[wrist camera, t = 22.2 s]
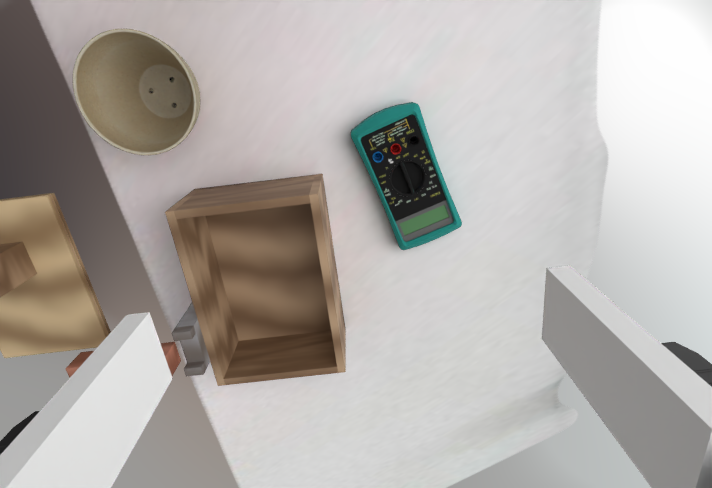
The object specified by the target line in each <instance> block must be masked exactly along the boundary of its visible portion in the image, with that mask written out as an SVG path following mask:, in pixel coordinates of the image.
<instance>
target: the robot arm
mask: <svg viewBox="0 0 712 488" xmlns="http://www.w3.org/2000/svg"><path fill="white" fill-rule="evenodd" d="M542 340H543V341H544V342H545V344H546V345H547V346H548V348H549V349H550V350H551V352H552V353H553V355H554V356H555V357H556V359H557V360H558V361H559V363H560V364H561V365H562V367H563V368H564V369H565V371H566V372H567V374H568V375H569V376H570V378H571V379H572V380H573V382H574V383H575V384H576V386H577V387H578V388H579V390H580V391H581V392H582V394H583V395H584V397H585V398H586V399H587V401H588V402H589V403H590V405H591V406H592V407H593V409H594V410H595V411H596V413H597V414H598V416H599V417H600V418H601V420H602V421H603V422H604V424H605V425H606V426H607V428H608V429H609V430H610V432H611V433H612V435H613V436H614V437H615V439H616V440H617V441H618V443H619V444H620V445H621V447H622V448H623V449H624V451H625V452H626V454H627V455H628V456H629V458H630V459H631V460H632V462H633V463H634V464H635V466H636V467H637V468H638V470H639V471H640V473H641V474H642V475H643V477H644V478H645V479H646V481H647V482H648V483H649V485H650V486H651V487H652V488H712V364H711V363H709V362H708V361H707V360H706V359H704V358H703V357H702V356H701V355H699V354H698V353H696V352H694V351H692V350H690V349H688V348H686V347H684V346H682V345H680V344H678V343H676V342H668V343H660V342H659V341H658V340H656V339H655V338H654V337H653V336H652V335H651V334H649V333H648V332H647V331H646V330H645V329H644V328H643V327H641V326H640V325H639V324H638V323H637V322H635V321H634V320H633V319H632V318H631V317H630V316H628V315H627V314H626V313H625V312H624V311H623V310H621V309H620V308H619V307H618V306H617V305H616V304H615V303H613V302H612V301H611V300H610V299H609V298H608V297H606V296H605V295H604V294H603V293H602V292H601V291H599V290H598V289H597V288H596V287H595V286H594V285H592V284H591V283H590V282H589V281H588V280H587V279H585V278H584V277H583V276H582V275H581V274H580V273H578V272H577V271H576V270H575V269H574V268H573V267H572V266H570V265H569V266H560V267H551V268H546V283H545V298H544V312H543V327H542ZM172 379H173V378H172V375H171V372H170V369H169V367H168V364H167V361H166V358H165V355H164V352H163V349H162V347H161V344H160V341H159V338H158V336H157V332H156V330H155V327H154V324H153V321H152V318H151V316H150V313H149V312H148V313H138V314H129V315H126V316H125V317H124V318H123V319H122V321H121V322H120V323H119V324H118V325H117V326H116V327H115V329H113V331H112V332H111V333H110V334H109V335H108V336H107V337H106V338H105V339H104V341H103V342H102V343H101V344H100V345H99V346H98V347H97V348H96V350H95V351H94V352H93V353H92V354H91V355H90V356H89V357H88V358H87V359H86V361H85V362H84V363H83V364H82V365H81V366H80V367H79V368H78V369H77V371H76V372H75V373H74V374H73V375H72V376H71V377H70V378H69V379H68V381H67V382H66V383H65V384H64V385H63V386H62V387H61V388H60V389H59V391H58V392H57V393H56V394H55V395H54V396H53V397H52V398H51V399H50V401H49V402H48V403H47V404H46V405H45V406H44V407H43V409H41V410H40V411H35V412H34V413H32V414H31V415H30V416H29V417H27V418H26V419H24V420H23V421H22V422H20V423H19V424H17V425H16V426H15V427H13V428H12V429H11V431H10V432H9V433H8V434H7V435H6V436H5V437H4V438H3V439H2V440H1V441H0V488H111V487H112V485H113V483H114V481H115V480H116V478H117V476H118V474H119V473H120V471H121V469H122V467H123V466H124V464H125V462H126V460H127V458H128V457H129V455H130V453H131V451H132V450H133V448H134V446H135V444H136V442H137V441H138V439H139V437H140V435H141V434H142V432H143V430H144V428H145V426H146V425H147V423H148V421H149V419H150V418H151V416H152V414H153V412H154V411H155V409H156V407H157V405H158V404H159V402H160V400H161V398H162V396H163V394H164V393H165V391H166V389H167V388H168V386H169V384H170V382H171V380H172Z"/></svg>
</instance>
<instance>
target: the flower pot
mask: <svg viewBox="0 0 712 488" xmlns="http://www.w3.org/2000/svg"><path fill="white" fill-rule="evenodd" d="M170 78H172V80H171V81H170ZM73 90H74V95H75V99H76V102H77V105H78V107H79V109H80V112H81V114H82V115H83V117H84V119H85V120H86V122H87V123H88V124H89V126H90V127H91V128H92V129H93V130H94V131H95V132H96V133H97V134H98V135H99V136H100V137H101V138H102V139H104V140H105V141H106V142H108V143H109V144H111V145H113V146H114V147H116V148H118V149H120V150H123V151H126V152H128V153H132V154H137V155H156V154H160V153H164V152H167V151H169V150H171V149H173V148H174V147H176V146H177V145H178V144H180V143H181V142H182V141H183V140H184V139H185V138H186V137H187V136H188V134H189V133H190V132H191V130H192V129H193V127H194V125H195V123H196V120H197V118H198V114H199V110H200V92H199V87H198V84H197V81H196V78H195V76H194V74H193V72H192V71H191V69H190V67H189V66H188V65H187V63H186V62H185V61H184V59H183V58H182V57H181V56H180V55H179V54H178V53H177V52H176V51H175V50H173V49H172V48H171V47H170V46H168V45H167V44H165V43H164V42H162V41H161V40H159V39H157V38H155V37H153V36H151V35H149V34H147V33H144V32H141V31H137V30H132V29H114V30H109V31H106V32H103V33H101V34H99V35H97V36H95V37H94V38H92V39H91V40H90V41H89V42H88V43H87V44H86V45H85V46H84V47H83V48H82V50H81V51H80V53H79V55H78V57H77V59H76V62H75V65H74V69H73ZM151 91H152V92H153V93H150V92H151ZM174 103H175V104H176V106H175V105H174Z"/></svg>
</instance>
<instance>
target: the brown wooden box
mask: <svg viewBox="0 0 712 488" xmlns="http://www.w3.org/2000/svg"><path fill="white" fill-rule="evenodd" d="M165 213H166V217H167V220H168V223H169V227H170V230H171V233H172V236H173V240H174V243H175V246H176V250H177V253H178V256H179V259H180V263H181V266H182V269H183V273H184V276H185V279H186V282H187V286H188V289H189V292H190V296H191V299H192V303H191V305H190V306H189V308H188V309H187V311H186V312H185V314H184V315H183V317H182V318H181V320H180V321H179V323H178V324H177V326H176V327H175V329H174V331H173V332H172V336H173V339H174V341H179V340H180V342H181V345H182V348H183V351H184V354H185V357H186V360H187V364H186V366H185V368H184V371H185V374H186V376H193V375H203V374H204V373H205V371H206V368H207V366H208V364H209V362H210V361H211V365H212V368H213V371H214V375H215V378H216V381H217V384H218V386H221V385H230V384H239V383H248V382H258V381H267V380H276V379H285V378H294V377H303V376H313V375H322V374H331V373H340V372H345V323H344V317H343V310H342V303H341V296H340V290H339V283H338V276H337V269H336V262H335V256H334V249H333V242H332V235H331V229H330V222H329V215H328V208H327V202H326V195H325V188H324V181H323V174H317V175H309V176H301V177H292V178H284V179H276V180H267V181H259V182H250V183H242V184H234V185H225V186H217V187H209V188H200V189H194V190H193V191H191V192H190V193H189V194H188V195H186V196H185V197H184V198H182V199H181V200H180V201H179V202H177V203H176V204H175V205H173V206H172V207H171V208H170V209H168V210H167V211H166V212H165Z"/></svg>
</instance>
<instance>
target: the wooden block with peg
mask: <svg viewBox="0 0 712 488" xmlns="http://www.w3.org/2000/svg"><path fill="white" fill-rule="evenodd" d="M110 333H111V331H110V329H109V326H108V323H107V321H106V319H105V316H104V314H103V311H102V309H101V306H100V304H99V301H98V299H97V297H96V294H95V292H94V289H93V287H92V284H91V282H90V280H89V277H88V274H87V272H86V270H85V267H84V265H83V262H82V260H81V257H80V255H79V252H78V250H77V248H76V245H75V243H74V240H73V238H72V235H71V233H70V230H69V228H68V226H67V223H66V221H65V218H64V216H63V213H62V211H61V208H60V206H59V203H58V201H57V199H56V196H55V194H54V193H48V194H40V195H32V196H24V197H16V198H8V199H0V350H1V352H2V354H3V356H4V358H10V357H18V356H26V355H35V354H44V353H53V352H61V351H70V350H79V349H86V348H95V347H98V346H99V345H100V344H101V343H102V342H103V341H104V339H105V338H106V337H107V336H108V335H109V334H110Z"/></svg>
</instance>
